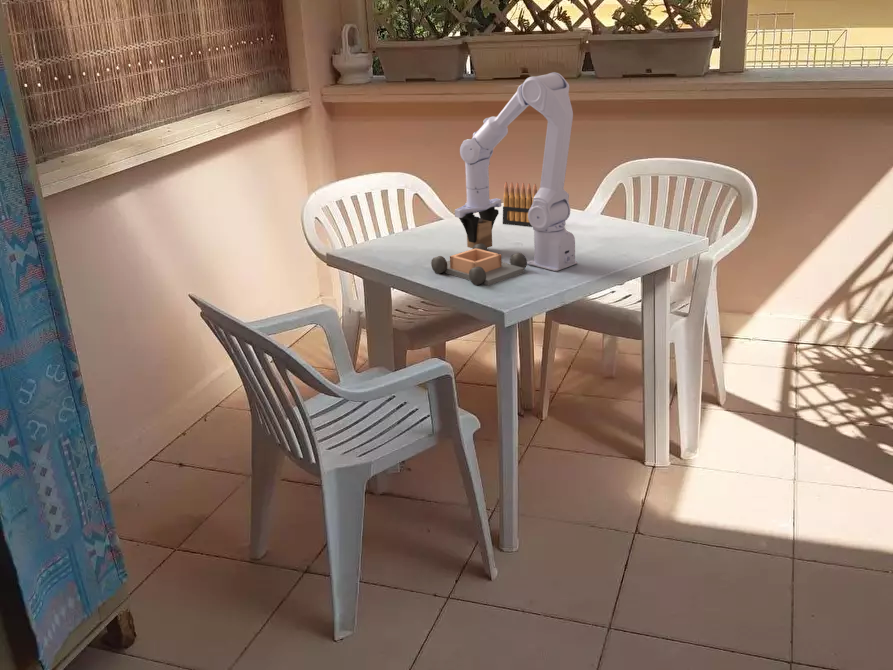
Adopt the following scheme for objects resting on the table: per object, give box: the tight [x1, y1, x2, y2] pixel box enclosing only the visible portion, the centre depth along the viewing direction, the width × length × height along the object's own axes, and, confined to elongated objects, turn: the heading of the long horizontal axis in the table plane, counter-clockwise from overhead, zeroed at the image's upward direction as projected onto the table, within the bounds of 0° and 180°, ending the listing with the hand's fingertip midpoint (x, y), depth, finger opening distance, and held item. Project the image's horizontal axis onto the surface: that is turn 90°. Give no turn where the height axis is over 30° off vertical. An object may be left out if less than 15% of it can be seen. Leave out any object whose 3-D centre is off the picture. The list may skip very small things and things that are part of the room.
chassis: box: [430, 243, 528, 286], centre depth 209 cm, size 18×15×4 cm
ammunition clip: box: [502, 181, 538, 228], centre depth 245 cm, size 11×2×12 cm, turn 60°
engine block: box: [466, 217, 493, 249], centre depth 224 cm, size 4×4×7 cm
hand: (479, 239), depth 225 cm, fingers closed on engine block, 4 cm apart
